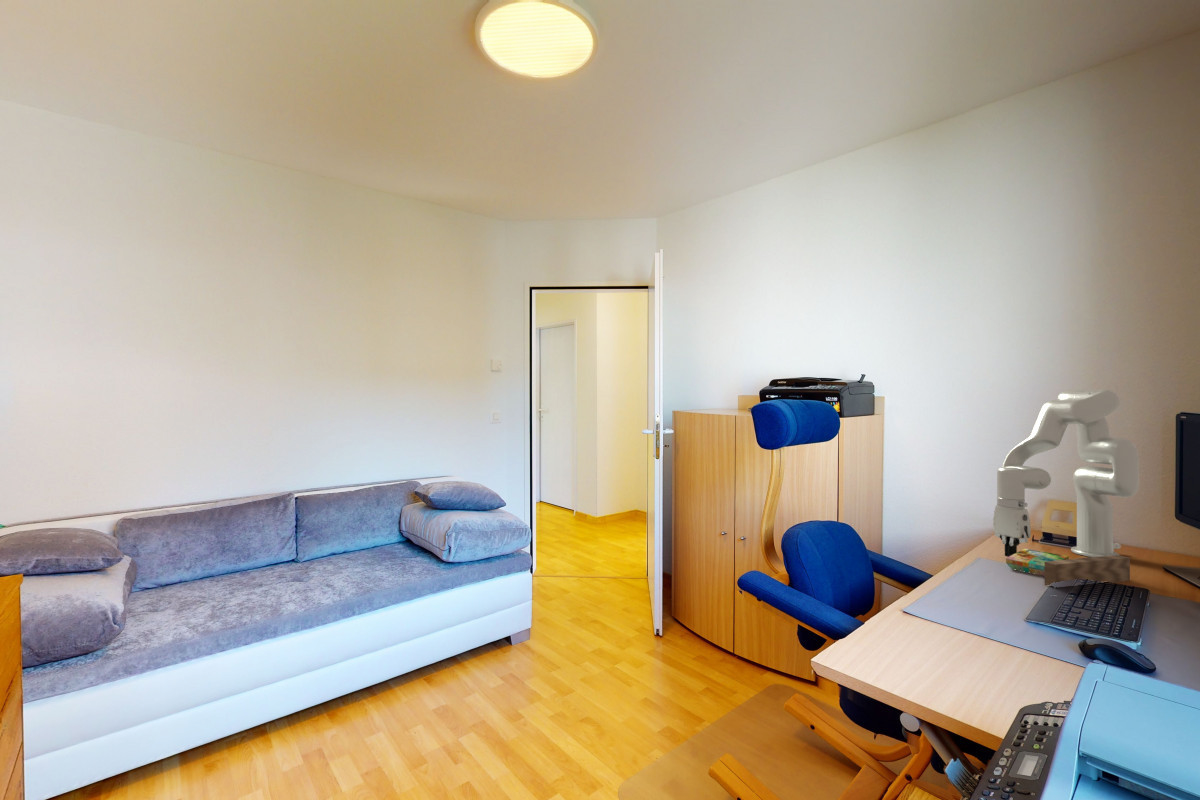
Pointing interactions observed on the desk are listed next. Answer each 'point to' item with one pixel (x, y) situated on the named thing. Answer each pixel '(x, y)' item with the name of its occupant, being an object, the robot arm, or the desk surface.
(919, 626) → the desk surface
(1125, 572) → the rail
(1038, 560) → the puzzle game
